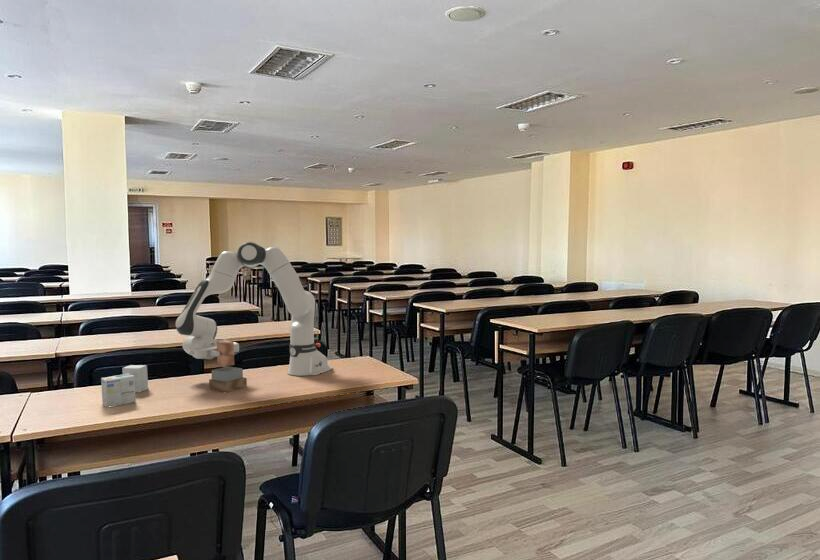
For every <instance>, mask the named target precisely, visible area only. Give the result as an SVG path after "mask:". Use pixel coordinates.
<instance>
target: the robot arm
mask: <svg viewBox="0 0 820 560" xmlns="http://www.w3.org/2000/svg"><path fill="white" fill-rule="evenodd" d="M260 265H261V266H262V267H264V268H265V270H266V271H267V273H268V274H269V276H270V278H271V279H272V281H273V283H274V284H275V286H276V287H277V289H278V291H279V293H280V296H281V297H282V301H283V302H284V304H285V306H286V309H287V311H288V313H289V314H290V315H291V321H290V326H289V329H290V330H289V334H290V337H289V338H290V343H289V354H290V355H289V356H290V357H289V365H288V370H287V374H288V375H291V376H303V377H305V376H317V375H320V373H321V374H323V373H326V372H329V371H331V370H333V369H334V368H333V366H332V365H329V364H328V363H329V362H328V358H327V356H326V355H324V354H323V353H322V352H321V351H319V350H318V349H317V348H320V347H321V343H320V342H316V343H315V339H314V338H315V336H314V335H315V332H314V331H315V330H314V327H315V326H314V324H315V316H316V315H315V313H316V298H315V296H314V294H312V293H311V292H310V291H308V290H305V289H304V287H303V285H302V282H301V279H300V276H299V275H298V273H297V272H296V270H295V268H294V266H293V265H292V264H291V262H290V260H289V259H288V258H287V256H286V255H285V254H284V252H282V250H281V249H280V248H279V247H276V246H270V247H267V248H264V247H263V246H261V245H259V244H257V243H256V242H251V241H247V242H244V243H242V244H241V245H240V246H239V247H238V249H237V251H236V252H235V251H234V252H233V251H229V250H227V251H226V250H225V251H223V252H220V254H219V256H218V257H217V259H216V261H215V263H214V264H213V266H212V270H211V272H210V274H209V275H208V276H207V277H206V279H203V280H201V281H200V282H199V283H198V285H197V286H196V288H195V289H194V291H193V292H192V295H191V296H190V298H189V300H188V301H187V303H186V305H185V306H184V308H183V310H182V311H181V312H180V314H179V315H178V316H177V318H176V320H175V325H174V326H175V329H176V331H177V332H178V334H180V335H181V336H186V338H184V340H183V342H182V349H183V350H184V351H185V353H187V354H188V355H190V356H192V357H193V358H195V359H198V360H199V359H201V360H204V359H206V360H212V359H214V358H217V356H221V355H222V354H221V353H222V352H221V351H217V342H221V341H228V339H226V338H217V337H216V336H217V334H218V325H217V322H216V321H215V320H214V319H212V318H210V317H204V316H200V315H197V312H198V310H199V308H200V306H201V305H202V303H203V302H204V300H205V298H207V297H208V296H210V295H215V294H216V295H217V294H223V293H224V294H225V293H227V292H228V291H230V290H231V289H232V288H233V285H234V283H235V281H236V279H237V275H238V273H239V271H240V269H241V268H242V269H243V268H244V269H245V268H246V269H247V268H248V269H254V268H256V267H259V266H260ZM216 338H217V339H216ZM233 342H234V354H235V353H238V352H239V351H240V344H239V343H238V342H235V341H233Z"/></svg>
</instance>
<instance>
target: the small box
mask: <svg viewBox="0 0 820 560" xmlns="http://www.w3.org/2000/svg"><path fill="white" fill-rule="evenodd" d="M121 371H122V374H128V373H129V374H131V375H134V378H135V393H142V391H143V392H144V391H147V390H149V378H148V377H149V376H148V365H146V364H144V365H143V364H139V365H138V364H137V365H135V364H129V365H126V366H125V367H122V370H121Z"/></svg>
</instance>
